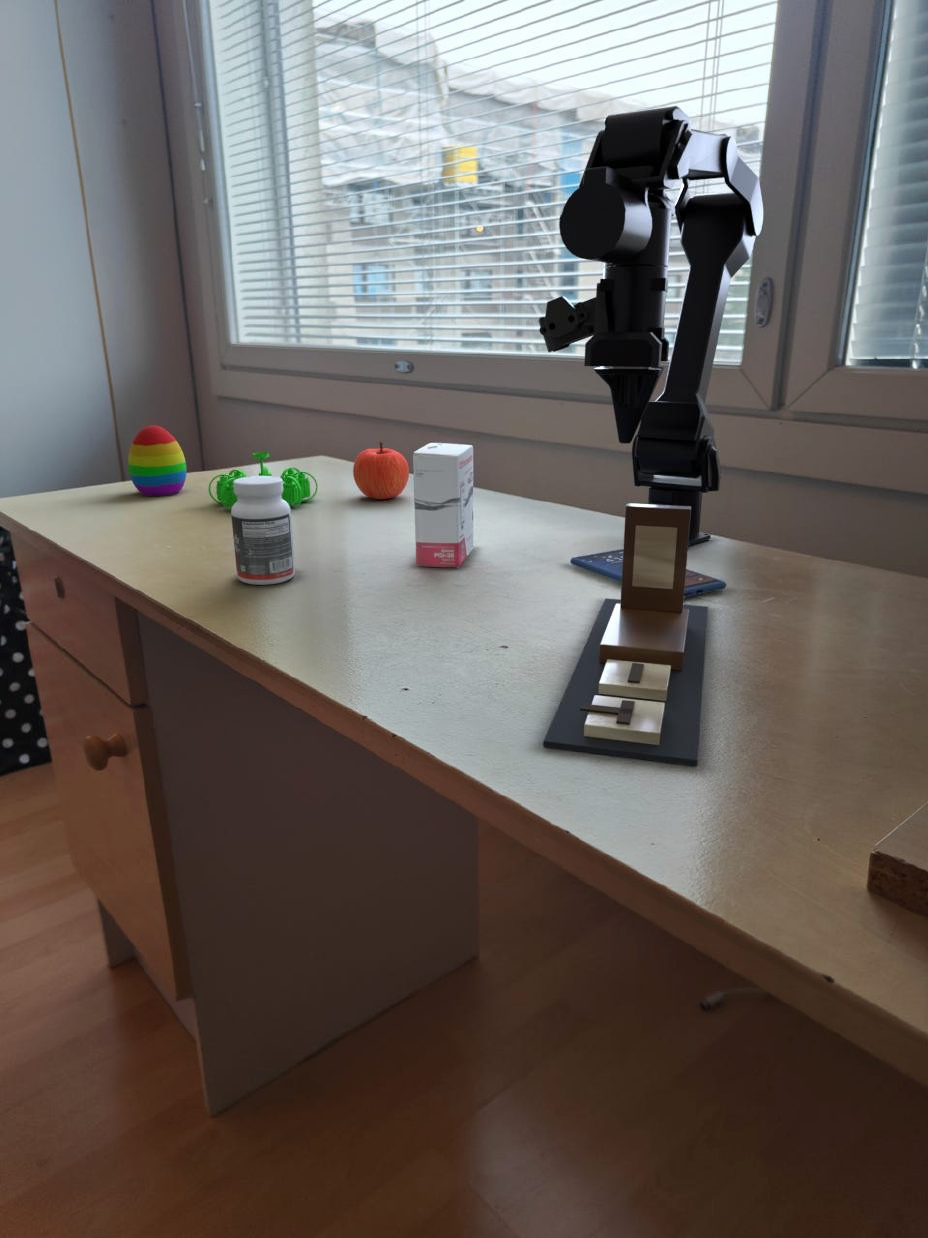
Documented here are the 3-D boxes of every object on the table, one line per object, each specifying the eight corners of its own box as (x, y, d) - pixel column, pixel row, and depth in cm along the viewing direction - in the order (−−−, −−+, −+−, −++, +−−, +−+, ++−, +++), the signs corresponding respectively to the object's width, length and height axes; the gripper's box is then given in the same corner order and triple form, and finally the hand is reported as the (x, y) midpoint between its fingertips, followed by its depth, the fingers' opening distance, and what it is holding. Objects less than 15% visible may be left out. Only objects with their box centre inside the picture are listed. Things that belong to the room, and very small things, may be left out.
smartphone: (669, 594, 77) (568, 557, 89) (668, 602, 77) (567, 564, 90) (729, 581, 81) (624, 547, 93) (728, 589, 81) (624, 554, 93)
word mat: (605, 602, 78) (605, 588, 78) (707, 610, 76) (708, 595, 75) (543, 747, 52) (543, 726, 51) (696, 766, 50) (698, 745, 49)
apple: (361, 491, 129) (359, 437, 127) (414, 492, 128) (412, 438, 125) (347, 502, 122) (344, 445, 119) (403, 503, 121) (401, 446, 118)
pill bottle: (242, 570, 89) (233, 475, 86) (298, 569, 89) (291, 473, 86) (233, 587, 83) (223, 485, 80) (292, 585, 84) (284, 484, 81)
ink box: (459, 569, 89) (458, 454, 85) (413, 567, 90) (410, 453, 86) (475, 548, 97) (474, 442, 93) (432, 546, 98) (430, 441, 94)
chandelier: (268, 489, 132) (265, 443, 130) (340, 499, 123) (337, 451, 121) (187, 505, 120) (181, 456, 118) (260, 518, 112) (255, 465, 110)
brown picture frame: (614, 619, 72) (621, 502, 69) (688, 626, 71) (697, 506, 68) (598, 663, 63) (605, 530, 60) (682, 671, 62) (693, 535, 58)
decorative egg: (139, 488, 133) (130, 422, 130) (193, 487, 134) (186, 421, 131) (125, 498, 125) (116, 429, 122) (183, 497, 126) (175, 428, 123)
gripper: (563, 275, 88) (557, 430, 93) (527, 261, 71) (523, 452, 76) (674, 274, 85) (662, 433, 90) (665, 258, 68) (651, 456, 73)
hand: (625, 442), depth 83 cm, fingers closed
